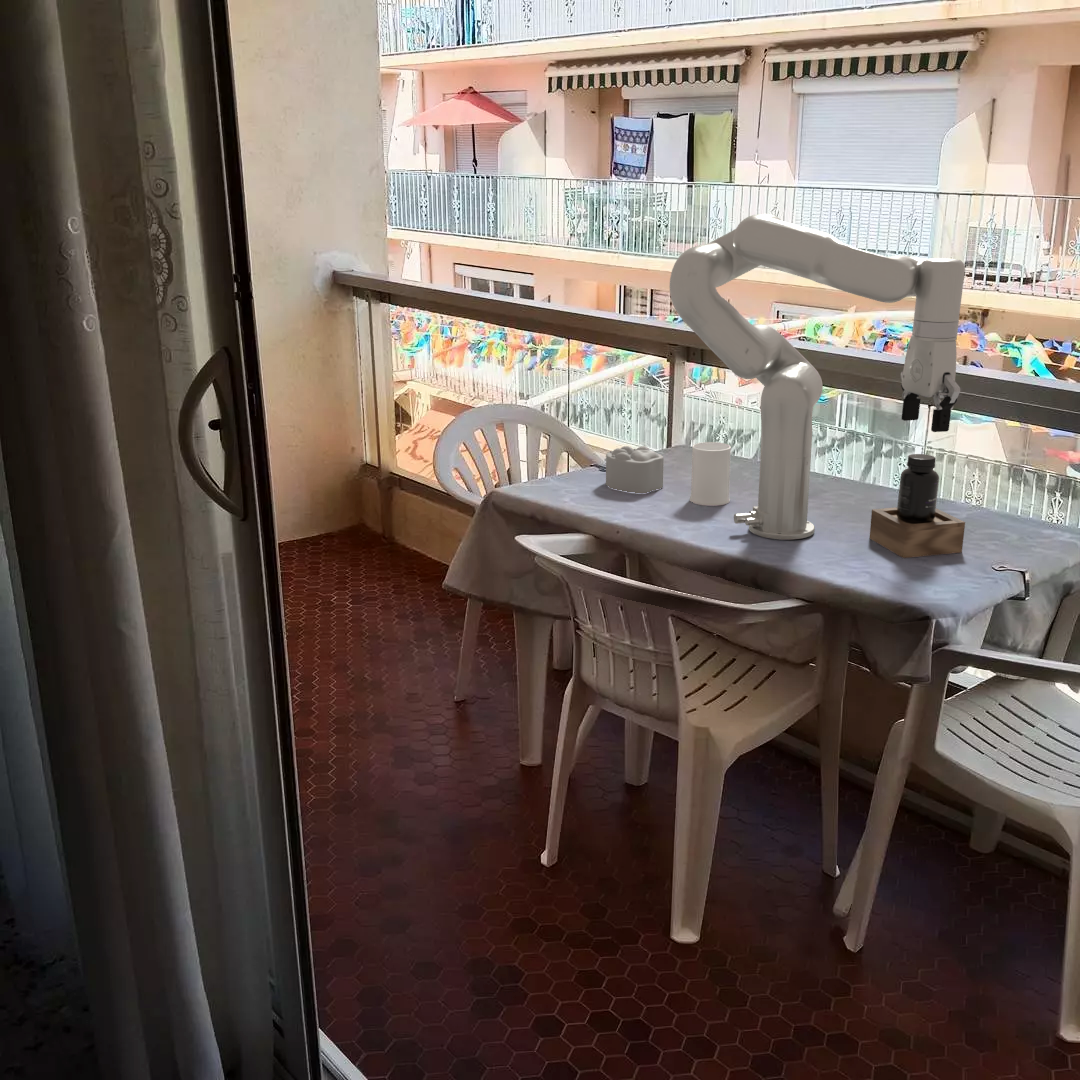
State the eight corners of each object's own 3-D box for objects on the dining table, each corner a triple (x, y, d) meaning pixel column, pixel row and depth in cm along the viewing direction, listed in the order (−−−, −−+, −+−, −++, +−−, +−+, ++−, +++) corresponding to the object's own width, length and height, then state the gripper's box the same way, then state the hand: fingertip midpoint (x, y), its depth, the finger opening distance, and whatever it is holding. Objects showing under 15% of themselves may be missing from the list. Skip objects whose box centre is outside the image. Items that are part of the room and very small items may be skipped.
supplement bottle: (936, 525, 203) (943, 461, 200) (897, 523, 205) (903, 460, 201) (932, 515, 210) (939, 453, 206) (894, 513, 211) (900, 451, 207)
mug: (711, 490, 247) (713, 437, 243) (745, 496, 242) (747, 442, 238) (682, 501, 238) (683, 447, 235) (716, 508, 233) (718, 452, 229)
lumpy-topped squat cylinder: (640, 496, 243) (641, 457, 240) (594, 486, 251) (594, 449, 249) (668, 486, 250) (669, 449, 248) (623, 477, 259) (623, 440, 256)
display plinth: (903, 558, 201) (906, 527, 200) (869, 538, 213) (871, 509, 211) (961, 552, 204) (965, 522, 202) (925, 533, 215) (928, 504, 213)
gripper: (890, 324, 203) (881, 416, 209) (944, 337, 187) (932, 437, 193) (926, 323, 205) (916, 414, 210) (983, 336, 189) (971, 434, 194)
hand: (924, 425), depth 201 cm, fingers open, 9 cm apart
